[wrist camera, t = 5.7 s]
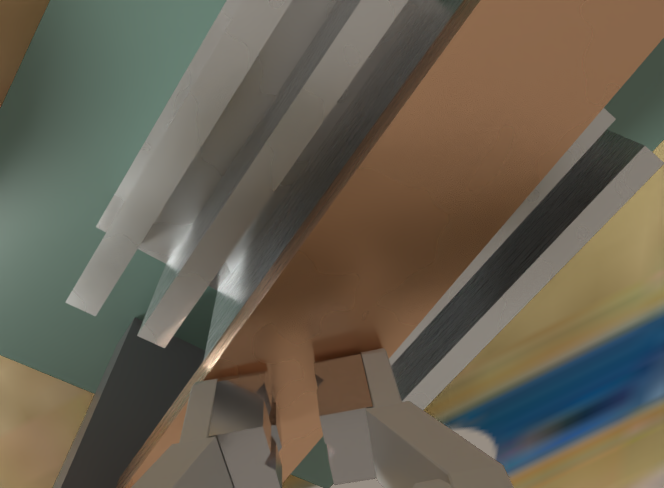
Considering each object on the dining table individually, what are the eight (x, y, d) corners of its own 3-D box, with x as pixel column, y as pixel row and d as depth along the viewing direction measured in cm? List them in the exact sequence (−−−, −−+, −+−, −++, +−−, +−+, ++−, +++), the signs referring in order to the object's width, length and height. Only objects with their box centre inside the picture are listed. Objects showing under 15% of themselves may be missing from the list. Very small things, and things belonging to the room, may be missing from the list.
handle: (231, 491, 14) (227, 547, 12) (127, 452, 13) (109, 508, 11) (714, -98, 9) (797, -119, 8) (611, -229, 8) (683, -279, 7)
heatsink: (364, 330, 20) (396, 455, 14) (119, 195, 17) (45, 293, 11) (548, 115, 17) (676, 174, 11) (293, -104, 13) (305, -166, 8)
